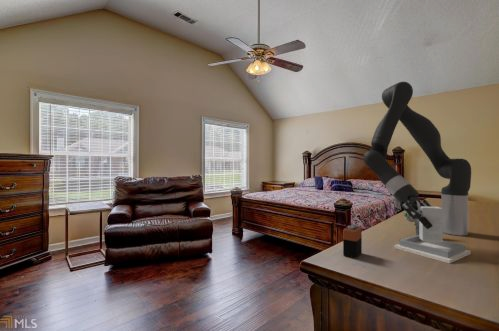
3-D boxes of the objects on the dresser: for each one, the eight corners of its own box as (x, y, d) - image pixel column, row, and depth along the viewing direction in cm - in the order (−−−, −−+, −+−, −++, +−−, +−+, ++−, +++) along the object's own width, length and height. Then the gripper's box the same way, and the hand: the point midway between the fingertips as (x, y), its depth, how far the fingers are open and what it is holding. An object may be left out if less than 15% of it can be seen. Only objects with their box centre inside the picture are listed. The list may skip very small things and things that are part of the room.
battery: (342, 256, 84) (342, 226, 84) (349, 250, 90) (349, 222, 90) (356, 259, 82) (356, 228, 82) (362, 253, 87) (361, 224, 87)
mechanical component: (433, 237, 105) (433, 213, 105) (406, 236, 107) (406, 213, 107) (429, 235, 108) (429, 212, 108) (403, 234, 110) (403, 211, 110)
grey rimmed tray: (416, 241, 101) (416, 233, 101) (470, 253, 86) (470, 245, 86) (394, 247, 92) (394, 239, 92) (449, 263, 78) (449, 253, 78)
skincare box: (438, 239, 90) (438, 206, 90) (442, 243, 86) (443, 208, 86) (418, 237, 92) (418, 205, 92) (422, 241, 88) (422, 207, 88)
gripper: (398, 184, 92) (434, 222, 82) (418, 182, 99) (453, 218, 89) (383, 196, 97) (416, 234, 86) (404, 194, 104) (436, 229, 94)
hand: (435, 226), depth 88 cm, fingers closed on skincare box, 7 cm apart
